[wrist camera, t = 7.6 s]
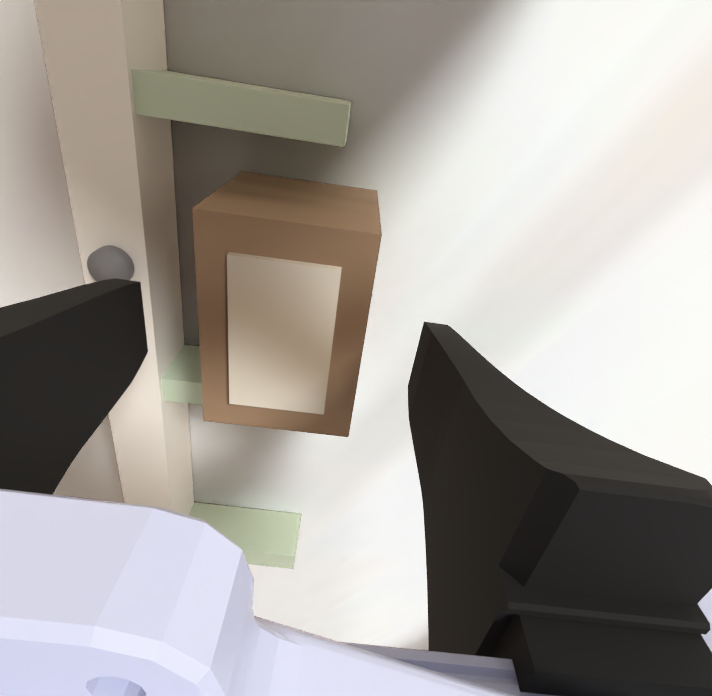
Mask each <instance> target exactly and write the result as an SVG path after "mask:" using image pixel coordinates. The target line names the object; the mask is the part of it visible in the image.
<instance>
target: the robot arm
mask: <svg viewBox="0 0 712 696" xmlns="http://www.w3.org/2000/svg"><path fill="white" fill-rule="evenodd" d="M147 353H148V346H147V337H146V328H145V319H144V310H143V301H142V291H141V282H138V281H131V280H123V279H116V278H115V279H107V280H102V281H98V282H93V283H89V284H86V285H82V286H78V287H75V288H71V289H68V290H64V291H61V292H57V293H54V294H50V295H47V296H43V297H40V298H36V299H32V300H28V301H25V302H21V303H17V304H13V305H9V306H5V307H1V308H0V696H712V485H711V484H710V483H709V482H708V481H707V480H706V479H705V478H703V477H700V476H697V475H695V474H692V473H689V472H687V471H684V470H681V469H679V468H676V467H673V466H671V465H668V464H666V463H663V462H660V461H658V460H655V459H652V458H650V457H647V456H645V455H642V454H640V453H638V452H635V451H633V450H631V449H629V448H626V447H624V446H622V445H620V444H618V443H615V442H613V441H611V440H609V439H607V438H605V437H603V436H601V435H599V434H597V433H595V432H592V431H590V430H589V429H587V428H585V427H583V426H581V425H579V424H578V423H576V422H574V421H572V420H570V419H568V418H567V417H565V416H563V415H561V414H560V413H558V412H556V411H555V410H553V409H551V408H550V407H548V406H547V405H545V404H544V403H542V402H541V401H539V400H538V399H536V398H535V397H533V396H532V395H530V394H529V393H527V392H526V391H524V390H523V389H522V388H520V387H519V386H518V385H516V384H515V383H514V382H512V381H511V380H510V379H509V378H507V377H506V376H505V375H504V374H502V373H501V372H500V371H499V370H498V369H496V368H495V367H494V366H493V365H492V364H491V363H489V362H488V361H487V360H486V359H485V358H484V357H483V356H482V355H481V354H479V353H478V352H477V351H476V350H475V349H474V348H473V347H472V346H471V345H470V344H469V343H468V342H467V341H465V340H464V339H463V338H462V337H461V336H460V335H459V334H458V333H457V332H456V331H455V330H453V329H452V328H451V327H449V326H448V325H443V324H436V323H429V322H424V325H423V329H422V332H421V336H420V340H419V344H418V348H417V352H416V356H415V360H414V364H413V368H412V372H411V376H410V380H409V384H408V408H409V421H410V428H411V433H412V439H413V445H414V451H415V456H416V462H417V468H418V473H419V479H420V485H421V491H422V499H423V509H424V525H425V541H426V564H427V590H428V628H429V651H425V650H415V649H405V648H395V647H386V646H376V645H366V644H356V643H346V642H338V641H334V640H331V639H328V638H325V637H321V636H318V635H315V634H312V633H308V632H305V631H302V630H298V629H295V628H292V627H289V626H285V625H282V624H279V623H275V622H272V621H269V620H266V619H262V618H259V617H256V616H254V614H253V609H252V606H253V585H254V579H253V576H252V574H251V571H250V569H249V566H248V564H247V561H246V558H245V556H244V553H243V551H242V549H241V548H240V547H239V546H238V545H237V544H236V543H235V542H233V541H232V540H231V539H229V538H228V537H227V536H225V535H224V534H223V533H221V532H220V531H219V530H217V529H216V528H215V527H213V526H212V525H210V524H209V523H208V522H206V521H205V520H203V519H199V518H196V517H192V516H189V515H185V514H182V513H178V512H175V511H171V510H168V509H164V508H161V507H155V506H147V505H138V504H129V503H120V502H112V501H103V500H94V499H86V498H77V497H68V496H59V495H52V494H53V492H54V491H55V489H56V487H57V486H58V484H59V482H60V481H61V479H62V477H63V476H64V474H65V472H66V471H67V469H68V467H69V466H70V464H71V463H72V461H73V460H74V458H75V457H76V455H77V454H78V452H79V451H80V450H81V448H82V447H83V446H84V444H85V443H86V442H87V440H88V439H89V438H90V436H91V435H92V434H93V433H94V431H95V430H96V429H97V427H98V426H99V425H100V424H101V422H102V421H103V420H104V418H105V417H106V416H107V414H108V413H109V412H110V411H111V409H112V408H113V407H114V405H115V404H116V403H117V401H118V400H119V399H120V397H121V396H122V395H123V393H124V392H125V391H126V390H127V388H128V387H129V385H130V384H131V383H132V381H133V379H134V378H135V376H136V374H137V372H138V370H139V369H140V367H141V365H142V363H143V361H144V359H145V357H146V355H147Z"/></svg>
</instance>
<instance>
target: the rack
mask: <svg viewBox="0 0 712 696" xmlns="http://www.w3.org/2000/svg"><path fill="white" fill-rule="evenodd" d="M34 4H35V10H36V15H37V21H38V26H39V32H40V37H41V43H42V48H43V54H44V59H45V65H46V71H47V76H48V82H49V87H50V93H51V98H52V104H53V109H54V115H55V120H56V126H57V132H58V137H59V143H60V148H61V154H62V159H63V165H64V170H65V176H66V181H67V187H68V193H69V198H70V204H71V209H72V215H73V220H74V226H75V231H76V237H77V242H78V248H79V254H80V259H81V265H82V270H83V276H84V281H85V285H86V284H89V283H93V282H98V281H102V280H107V279H115V278H116V279H123V280H131V281H138V282H141V291H142V301H143V310H144V319H145V328H146V337H147V346H148V353H147V355H146V357H145V359H144V361H143V363H142V365H141V367H140V369H139V370H138V372H137V374H136V376H135V378H134V379H133V381H132V383H131V384H130V385H129V387H128V388H127V390H126V391H125V392H124V393H123V395H122V396H121V397H120V399H119V400H118V401H117V403H116V404H115V405H114V407H113V408H112V409H111V411H110V412H109V413H108V414H109V420H110V425H111V431H112V437H113V442H114V448H115V453H116V459H117V464H118V470H119V475H120V481H121V486H122V492H123V498H124V503H129V504H138V505H147V506H155V507H161V508H164V509H168V510H171V511H175V512H178V513H182V514H185V515H189V516H192V517H196V518H199V519H203V520H205V521H206V522H208V523H209V524H210V525H212V526H213V527H215V528H216V529H217V530H219V531H220V532H221V533H223V534H224V535H225V536H227V537H228V538H229V539H231V540H232V541H233V542H235V543H236V544H237V545H238V546H239V547H240V548H241V549H242V551H243V553H244V556H245V558H246V561H247V564H251V565H261V566H271V567H280V568H290V569H293V568H294V562H295V555H296V548H297V541H298V534H299V528H300V520H301V514H296V513H287V512H278V511H269V510H260V509H251V508H242V507H233V506H224V505H215V504H206V503H196V502H194V492H193V475H192V459H191V443H190V427H189V411H188V404H197V405H203V399H202V381H201V363H200V346H193V345H185V344H184V330H183V314H182V297H181V281H180V265H179V249H178V233H177V216H176V200H175V184H174V168H173V152H172V135H171V120H176V121H182V122H189V123H195V124H201V125H207V126H214V127H220V128H226V129H233V130H239V131H245V132H251V133H258V134H264V135H270V136H277V137H283V138H289V139H295V140H302V141H308V142H314V143H320V144H327V145H333V146H339V147H344V146H345V143H346V140H347V136H348V128H349V120H350V112H351V103H352V101H347V100H341V99H335V98H329V97H323V96H317V95H311V94H305V93H299V92H293V91H287V90H281V89H275V88H269V87H262V86H256V85H250V84H244V83H238V82H232V81H226V80H220V79H214V78H208V77H202V76H196V75H190V74H184V73H178V72H172V71H167V54H166V38H165V22H164V6H163V0H34Z"/></svg>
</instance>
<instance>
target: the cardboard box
mask: <svg viewBox="0 0 712 696" xmlns="http://www.w3.org/2000/svg"><path fill="white" fill-rule="evenodd" d="M192 217H193V235H194V254H195V272H196V290H197V308H198V327H199V345H200V363H201V381H202V399H203V418H204V421H210V422H219V423H228V424H237V425H246V426H255V427H264V428H273V429H281V430H290V431H299V432H308V433H317V434H326V435H335V436H344V437H348V436H349V430H350V424H351V418H352V412H353V405H354V399H355V393H356V387H357V381H358V375H359V369H360V363H361V357H362V351H363V345H364V339H365V333H366V326H367V320H368V314H369V308H370V302H371V296H372V290H373V284H374V278H375V272H376V266H377V260H378V253H379V247H380V241H381V235H382V233H381V224H380V214H379V205H378V195H377V191H376V190H369V189H362V188H355V187H348V186H341V185H333V184H326V183H319V182H312V181H305V180H298V179H291V178H284V177H277V176H270V175H263V174H256V173H249V172H242V171H241V172H240V173H239V174H237V175H236V176H235V177H233V178H232V179H231V180H229V181H228V182H227V183H225V184H224V185H223V186H221V187H220V188H219V189H217V190H216V191H215V192H213V193H212V194H211V195H209V196H208V197H207V198H205V199H204V200H203V201H201V202H200V203H199V204H197V205H196V206H195V207H193V208H192Z"/></svg>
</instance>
